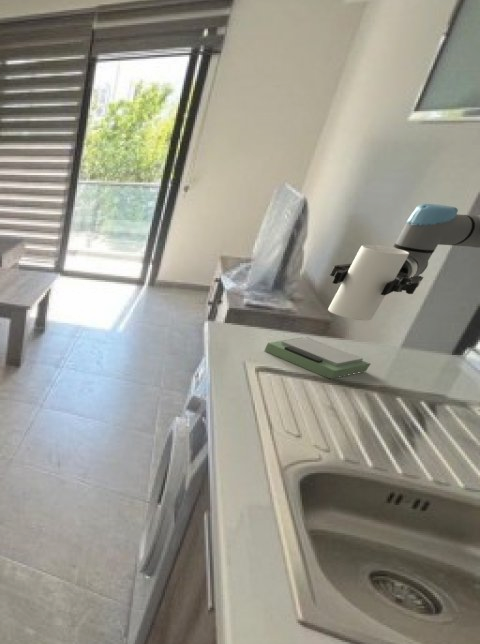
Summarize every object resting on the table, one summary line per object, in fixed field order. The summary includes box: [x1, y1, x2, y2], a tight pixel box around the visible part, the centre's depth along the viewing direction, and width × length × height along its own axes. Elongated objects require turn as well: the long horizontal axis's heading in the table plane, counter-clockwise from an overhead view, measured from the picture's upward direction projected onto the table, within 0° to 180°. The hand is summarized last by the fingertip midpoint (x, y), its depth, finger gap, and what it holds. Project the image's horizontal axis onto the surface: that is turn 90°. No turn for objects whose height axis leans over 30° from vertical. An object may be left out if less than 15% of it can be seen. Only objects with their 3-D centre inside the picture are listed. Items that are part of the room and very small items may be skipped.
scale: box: [263, 336, 371, 379], centre depth 123 cm, size 16×14×3 cm
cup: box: [327, 244, 409, 322], centre depth 114 cm, size 8×8×16 cm
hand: (360, 283), depth 111 cm, fingers closed on cup, 8 cm apart
